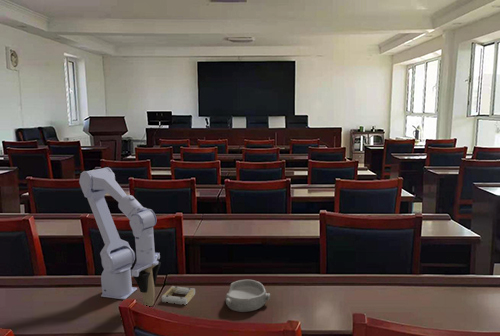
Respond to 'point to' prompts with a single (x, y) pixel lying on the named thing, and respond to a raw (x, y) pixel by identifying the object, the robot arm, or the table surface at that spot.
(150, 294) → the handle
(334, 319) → the table surface
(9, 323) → the table surface
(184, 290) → the square frame
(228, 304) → the dish
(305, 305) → the table surface
